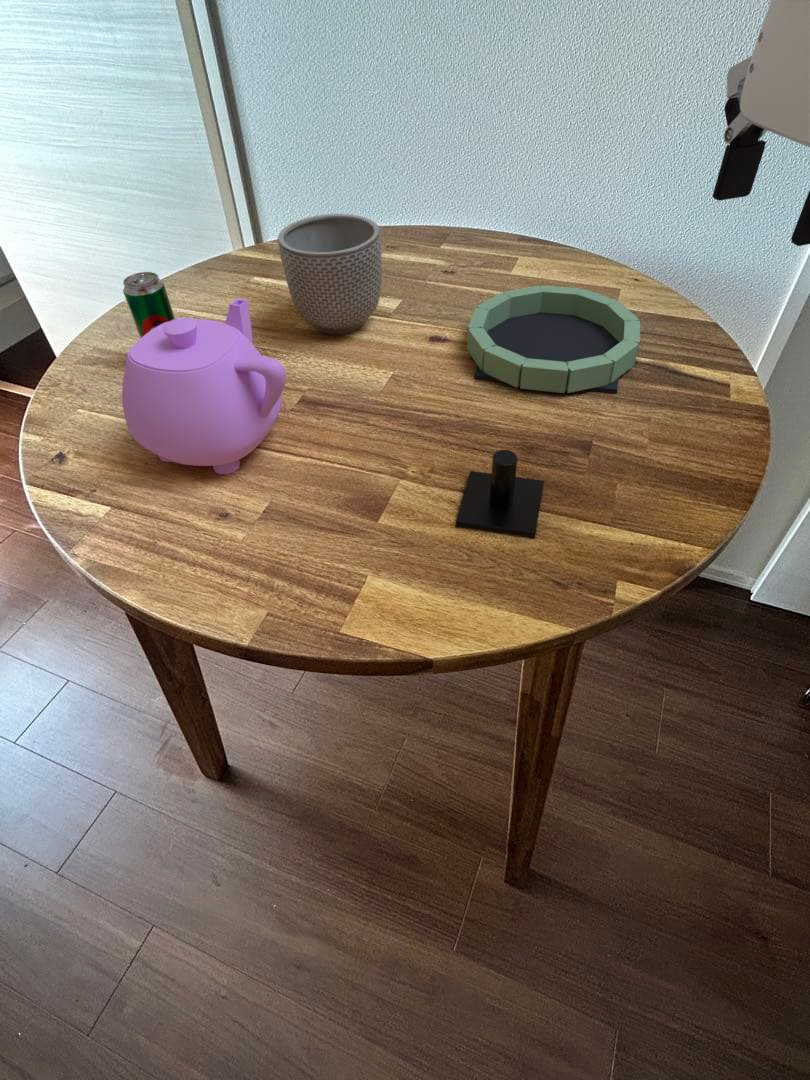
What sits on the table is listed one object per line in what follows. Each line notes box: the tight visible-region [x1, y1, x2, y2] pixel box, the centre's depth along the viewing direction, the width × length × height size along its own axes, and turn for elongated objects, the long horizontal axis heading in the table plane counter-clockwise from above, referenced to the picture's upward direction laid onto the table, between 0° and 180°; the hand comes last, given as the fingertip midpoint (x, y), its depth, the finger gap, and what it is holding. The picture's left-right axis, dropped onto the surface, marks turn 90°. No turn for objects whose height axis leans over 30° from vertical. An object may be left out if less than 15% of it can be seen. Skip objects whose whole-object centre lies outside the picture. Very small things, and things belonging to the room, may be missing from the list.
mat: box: [473, 313, 620, 394], centre depth 88 cm, size 18×18×1 cm
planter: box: [277, 213, 383, 335], centre depth 91 cm, size 14×14×13 cm
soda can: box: [122, 271, 176, 340], centre depth 86 cm, size 5×5×12 cm
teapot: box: [121, 297, 287, 475], centre depth 73 cm, size 20×20×15 cm
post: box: [455, 449, 545, 539], centre depth 65 cm, size 8×8×6 cm
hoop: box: [466, 284, 641, 394], centre depth 87 cm, size 22×22×3 cm
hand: (768, 218), depth 51 cm, fingers open, 9 cm apart
